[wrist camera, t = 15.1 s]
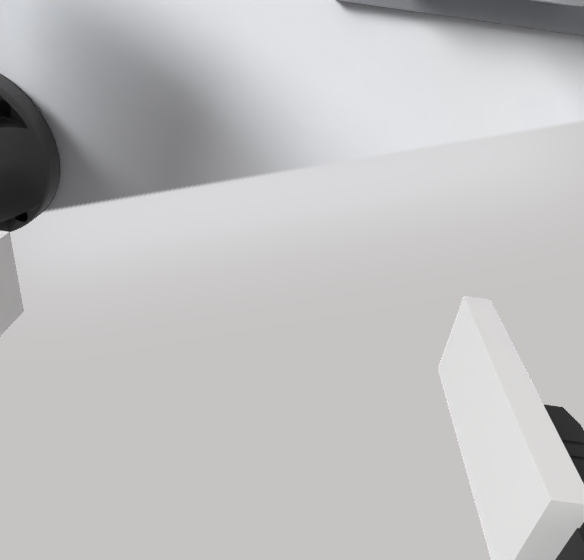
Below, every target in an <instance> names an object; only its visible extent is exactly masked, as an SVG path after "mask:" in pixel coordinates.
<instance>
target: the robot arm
mask: <svg viewBox="0 0 584 560" xmlns="http://www.w3.org/2000/svg"><path fill="white" fill-rule="evenodd" d="M59 177H60V163H59V155H58V150H57V147H56V143H55V140H54V138H53V135H52V133H51V130H50V128H49V126H48V124H47V123H46V121H45V119H44V118H43V116H42V114H41V113H40V111H39V110H38V109H37V107H36V106H35V105H34V104H33V102H32V101H31V100H30V99H29V98H28V97H27V96H26V95H25V94H24V93H23V92H22V91H21V90H20V89H19V88H18V87H17V86H16V85H14V84H13V83H12V82H11V81H9V80H8V79H7V78H5V77H4V76H2V75H1V74H0V336H1V335H2V334H3V332H4V331H5V330H6V329H7V328H8V327H9V326H10V325H11V324H12V323H13V322H14V321H15V320H16V319H17V318H18V317H19V315H21V313H22V312H23V311H24V310H23V304H22V299H21V293H20V288H19V283H18V277H17V271H16V266H15V260H14V255H13V250H12V244H11V238H10V233H9V232H11V231H14V230H17V229H19V228H21V227H23V226H25V225H26V224H28V223H29V222H30V221H32V220H33V219H34V218H36V217H37V216H38V215H40V214H41V213H42V212H43V211H44V210H45V209H46V208H47V207H48V206H49V204H50V203H51V201H52V200H53V198H54V196H55V193H56V191H57V187H58V183H59ZM438 372H439V375H440V379H441V383H442V386H443V390H444V393H445V397H446V400H447V404H448V408H449V411H450V415H451V419H452V422H453V426H454V429H455V433H456V436H457V440H458V443H459V447H460V451H461V454H462V458H463V462H464V465H465V469H466V472H467V476H468V479H469V483H470V487H471V490H472V494H473V497H474V501H475V505H476V508H477V512H478V515H479V519H480V522H481V526H482V530H483V533H484V537H485V540H486V544H487V548H488V551H489V555H490V558H491V560H584V430H583V428H582V427H581V425H580V424H579V423H578V422H577V421H576V420H575V419H574V418H573V417H572V416H571V415H570V414H569V413H568V412H567V411H566V410H565V409H564V408H563V407H557V406H549V405H543V403H542V401H541V399H540V397H539V395H538V393H537V391H536V389H535V387H534V385H533V383H532V381H531V379H530V377H529V375H528V373H527V371H526V369H525V367H524V366H523V363H522V361H521V359H520V357H519V356H518V354H517V352H516V350H515V348H514V346H513V344H512V342H511V340H510V338H509V336H508V334H507V332H506V330H505V328H504V326H503V324H502V322H501V320H500V318H499V316H498V314H497V312H496V310H495V308H494V306H493V304H492V302H491V301H490V300H489V299H482V298H475V297H468V296H464V297H463V299H462V302H461V305H460V308H459V311H458V313H457V316H456V319H455V322H454V325H453V327H452V330H451V333H450V336H449V339H448V342H447V345H446V347H445V350H444V353H443V356H442V359H441V361H440V364H439V367H438Z"/></svg>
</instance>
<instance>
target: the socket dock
mask: <svg viewBox="0 0 584 560" xmlns="http://www.w3.org/2000/svg"><path fill="white" fill-rule="evenodd" d="M339 1H345V2H352V3H359V4H366V5H373V6H380V7H387V8H394V9H401V10H408V11H415V12H422V13H429V14H436V15H443V16H450V17H457V18H464V19H471V20H478V21H485V22H492V23H499V24H506V25H513V26H520V27H527V28H534V29H541V30H548V31H555V32H562V33H569V34H576V35H583V36H584V0H339Z"/></svg>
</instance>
